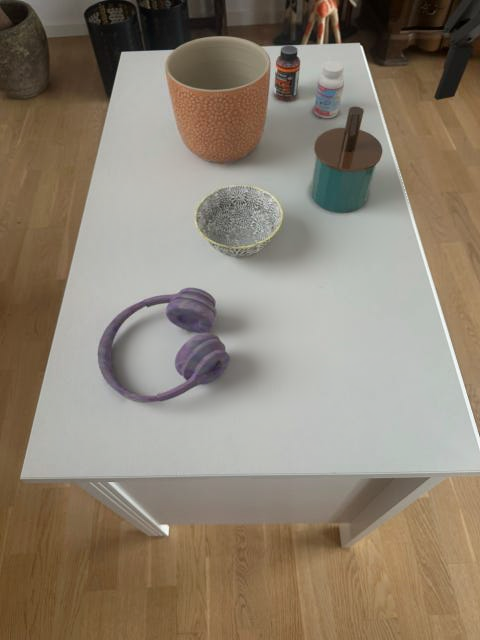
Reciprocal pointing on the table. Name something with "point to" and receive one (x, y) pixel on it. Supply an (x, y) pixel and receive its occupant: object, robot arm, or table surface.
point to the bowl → (239, 219)
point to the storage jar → (340, 188)
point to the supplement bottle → (287, 74)
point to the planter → (219, 95)
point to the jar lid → (348, 146)
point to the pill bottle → (329, 90)
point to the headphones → (194, 356)
